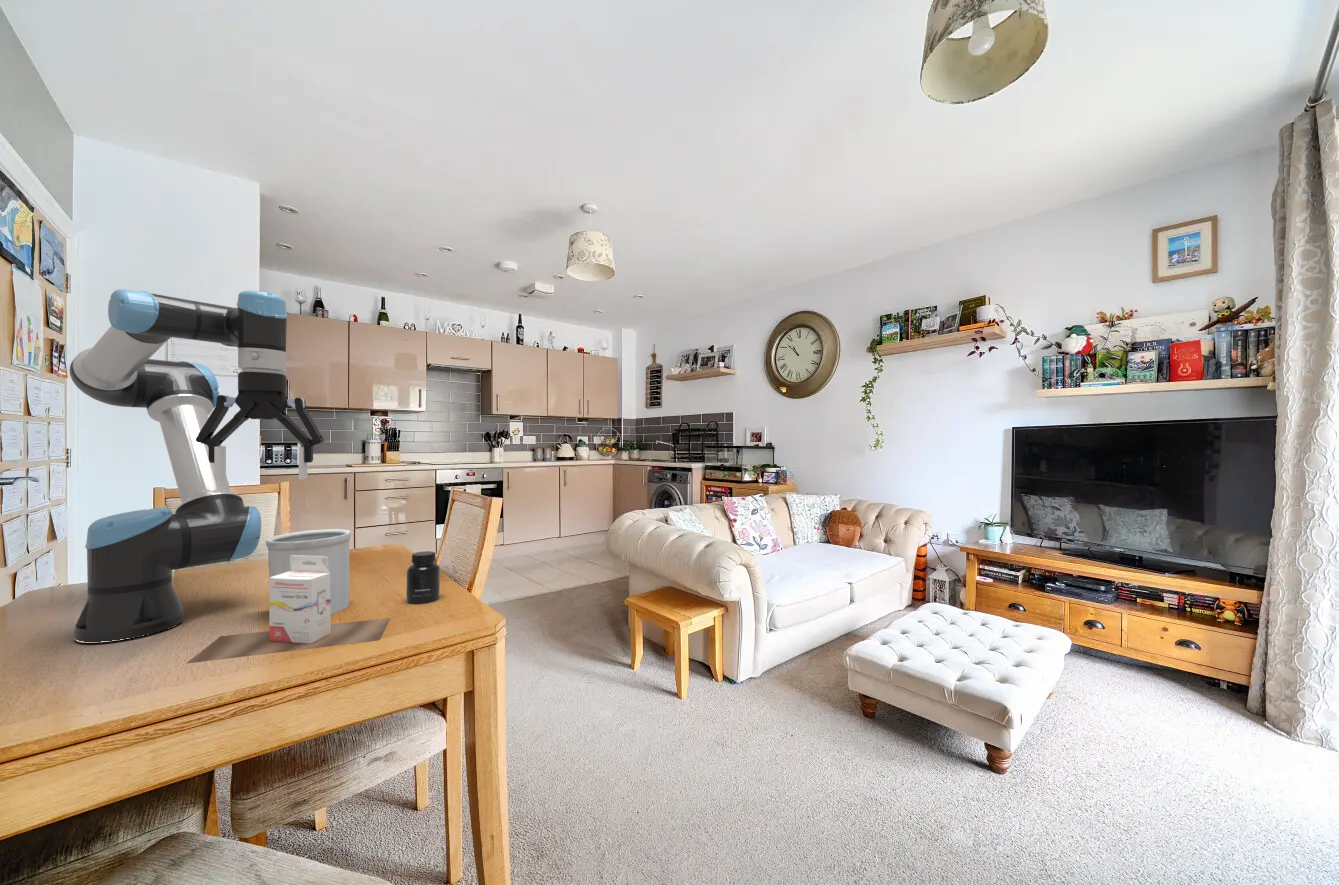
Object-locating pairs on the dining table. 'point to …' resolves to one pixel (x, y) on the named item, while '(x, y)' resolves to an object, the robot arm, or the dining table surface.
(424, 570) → the supplement bottle
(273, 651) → the walnut board
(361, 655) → the dining table surface
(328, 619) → the ink cartridge box
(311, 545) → the utensil holder
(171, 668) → the dining table surface
